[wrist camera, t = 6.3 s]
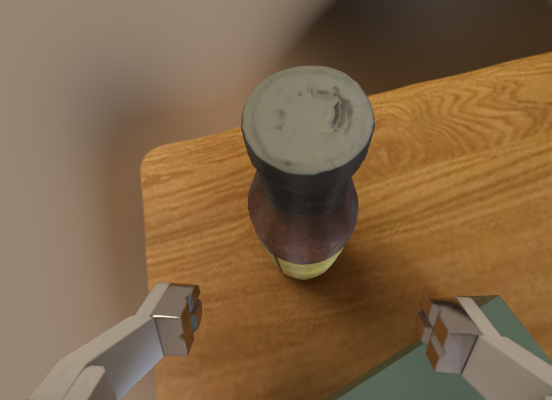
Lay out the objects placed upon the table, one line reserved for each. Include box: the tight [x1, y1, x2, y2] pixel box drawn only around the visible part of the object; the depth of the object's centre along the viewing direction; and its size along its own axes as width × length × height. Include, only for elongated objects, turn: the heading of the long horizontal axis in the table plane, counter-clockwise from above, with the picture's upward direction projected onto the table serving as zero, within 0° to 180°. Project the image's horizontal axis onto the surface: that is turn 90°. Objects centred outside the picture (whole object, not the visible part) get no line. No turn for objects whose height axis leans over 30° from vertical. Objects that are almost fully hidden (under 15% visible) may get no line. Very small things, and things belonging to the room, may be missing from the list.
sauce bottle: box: [241, 66, 375, 280], centre depth 17 cm, size 6×6×20 cm
